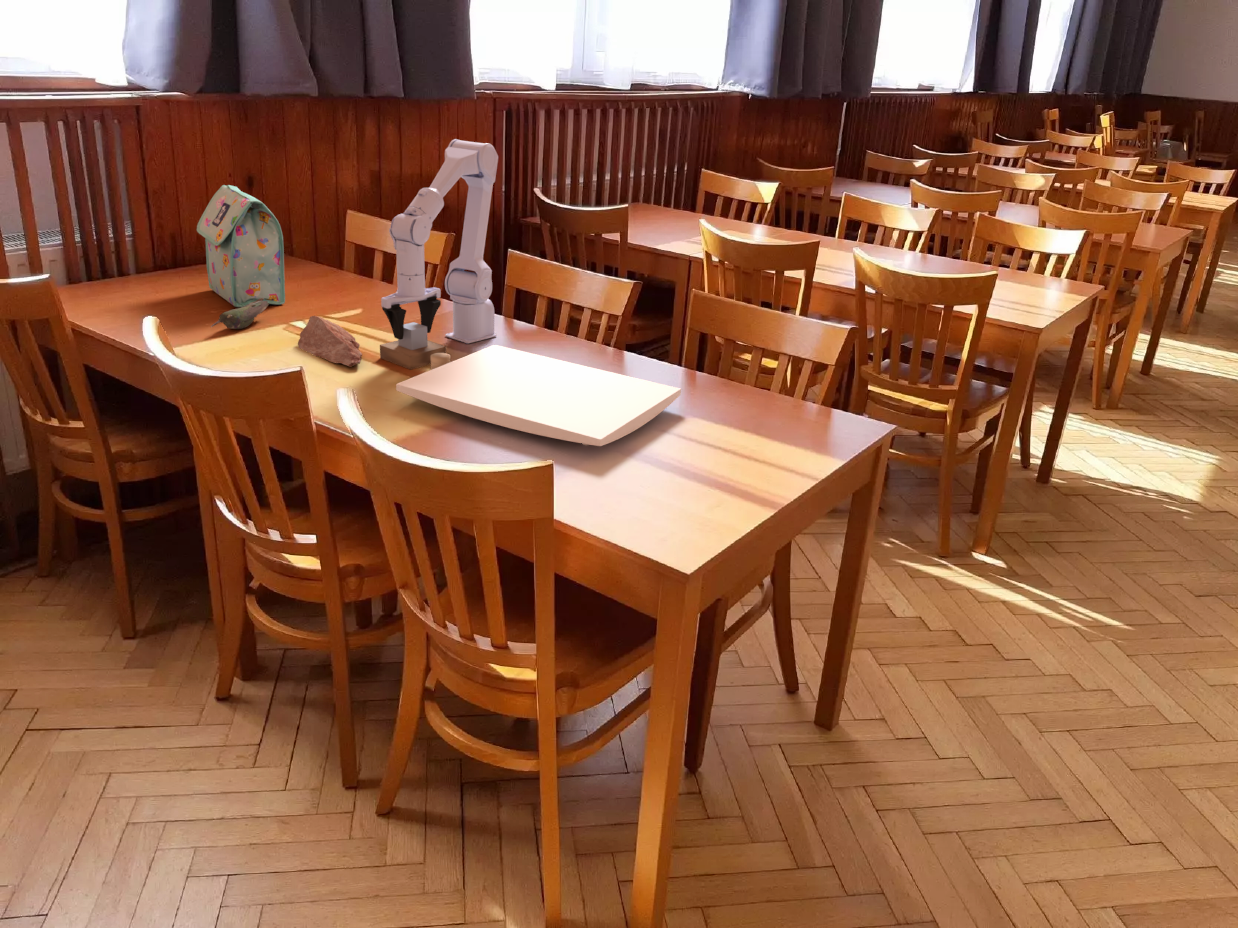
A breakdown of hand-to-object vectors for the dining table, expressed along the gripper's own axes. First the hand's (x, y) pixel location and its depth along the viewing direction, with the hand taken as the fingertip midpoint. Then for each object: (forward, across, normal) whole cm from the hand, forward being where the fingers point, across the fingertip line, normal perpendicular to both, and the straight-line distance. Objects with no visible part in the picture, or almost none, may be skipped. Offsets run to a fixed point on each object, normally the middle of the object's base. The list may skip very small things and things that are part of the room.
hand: (412, 335), depth 212 cm
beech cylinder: (+6, +4, +14) cm, 15 cm away
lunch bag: (+6, 0, -65) cm, 65 cm away
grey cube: (+2, 0, 0) cm, 2 cm away
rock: (+6, +9, -13) cm, 17 cm away
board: (+6, 0, +39) cm, 39 cm away
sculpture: (+6, +15, -43) cm, 46 cm away
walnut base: (+5, 0, 0) cm, 5 cm away
